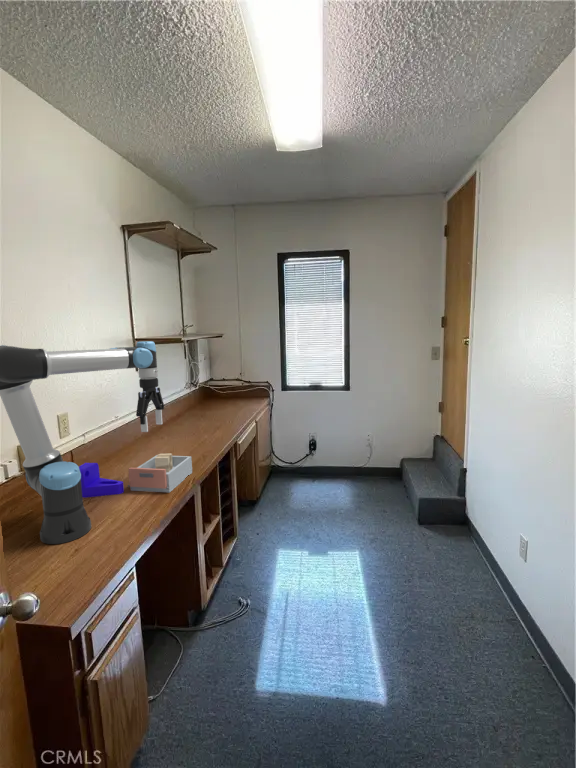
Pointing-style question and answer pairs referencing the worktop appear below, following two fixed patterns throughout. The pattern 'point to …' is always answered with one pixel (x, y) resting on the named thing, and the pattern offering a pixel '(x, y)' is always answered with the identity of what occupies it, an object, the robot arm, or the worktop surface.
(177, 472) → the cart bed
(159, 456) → the beige block
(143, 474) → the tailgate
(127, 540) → the worktop surface
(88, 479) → the bracket
